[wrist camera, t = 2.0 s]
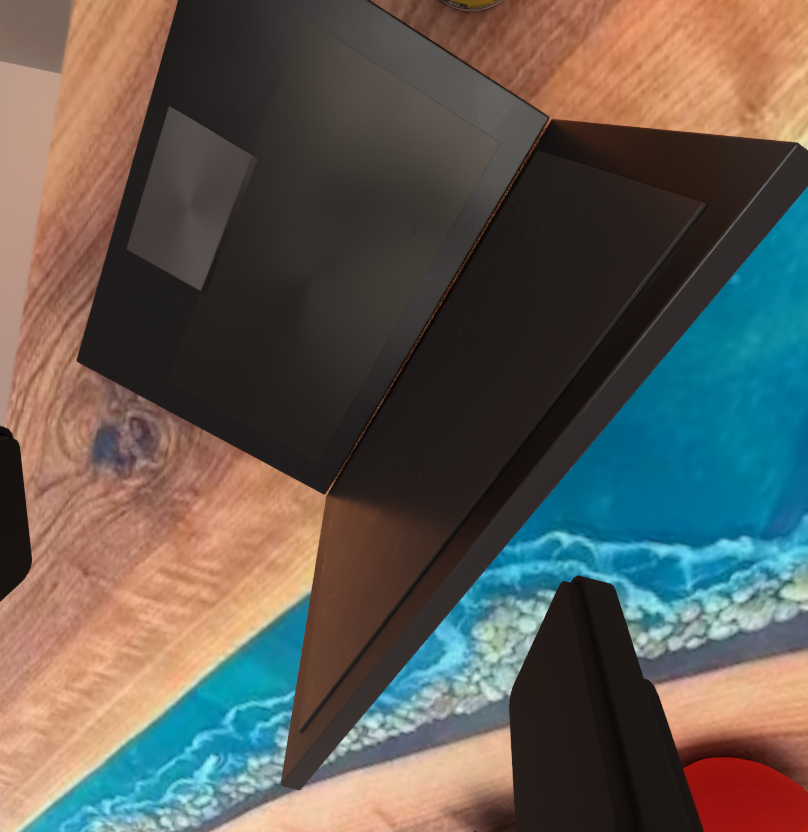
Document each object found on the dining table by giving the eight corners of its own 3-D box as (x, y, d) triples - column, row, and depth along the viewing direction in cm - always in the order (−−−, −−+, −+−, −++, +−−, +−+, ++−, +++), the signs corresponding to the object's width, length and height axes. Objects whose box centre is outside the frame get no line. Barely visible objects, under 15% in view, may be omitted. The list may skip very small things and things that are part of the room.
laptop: (92, 353, 34) (74, 362, 33) (223, -90, 24) (205, -107, 23) (331, 482, 36) (324, 496, 35) (546, 119, 26) (550, 116, 24)
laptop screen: (277, 785, 20) (299, 791, 20) (793, 138, 10) (828, 164, 10) (324, 495, 35) (337, 500, 35) (550, 117, 25) (566, 127, 25)
